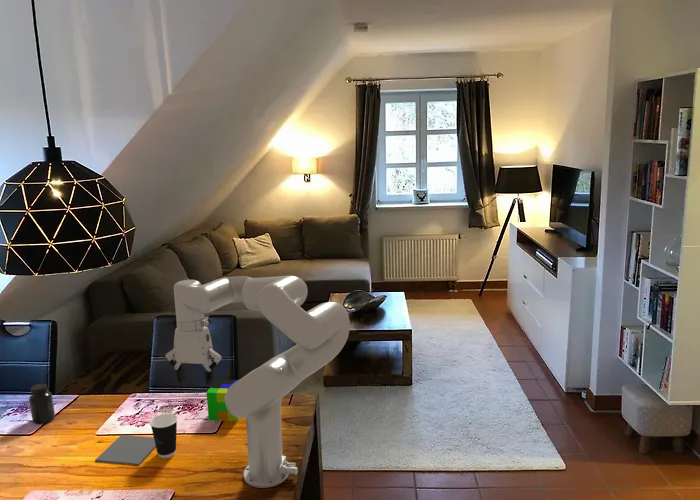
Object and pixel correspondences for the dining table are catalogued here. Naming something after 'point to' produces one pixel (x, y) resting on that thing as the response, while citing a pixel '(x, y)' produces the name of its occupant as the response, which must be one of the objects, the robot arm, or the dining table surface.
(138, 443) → the charcoal mat
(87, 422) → the dining table surface
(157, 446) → the dixie cup
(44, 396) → the supplement bottle
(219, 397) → the puzzle toy
